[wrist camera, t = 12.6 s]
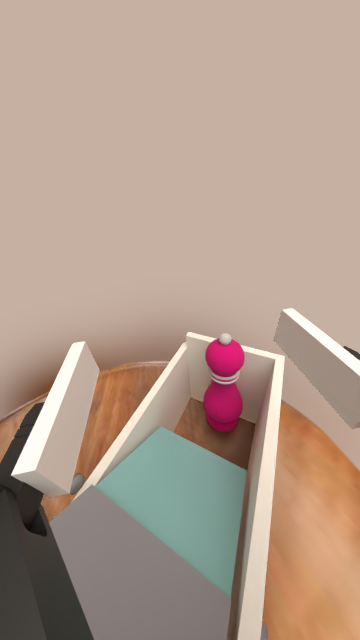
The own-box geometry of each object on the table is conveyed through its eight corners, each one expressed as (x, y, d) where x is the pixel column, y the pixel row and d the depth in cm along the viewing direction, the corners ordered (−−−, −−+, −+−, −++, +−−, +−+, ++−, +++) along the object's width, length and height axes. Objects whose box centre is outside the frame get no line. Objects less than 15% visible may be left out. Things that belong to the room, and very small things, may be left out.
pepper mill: (212, 395, 42) (212, 317, 32) (245, 410, 38) (257, 327, 28) (197, 423, 36) (191, 341, 26) (233, 443, 33) (242, 356, 23)
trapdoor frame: (74, 602, 24) (-46, 617, 13) (186, 391, 48) (180, 329, 36) (214, 781, 16) (235, 1243, 5) (265, 422, 40) (289, 357, 29)
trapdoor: (-30, 646, 12) (-18, 582, 11) (156, 446, 32) (161, 421, 31) (159, 1062, 6) (189, 942, 6) (240, 495, 26) (247, 465, 26)
